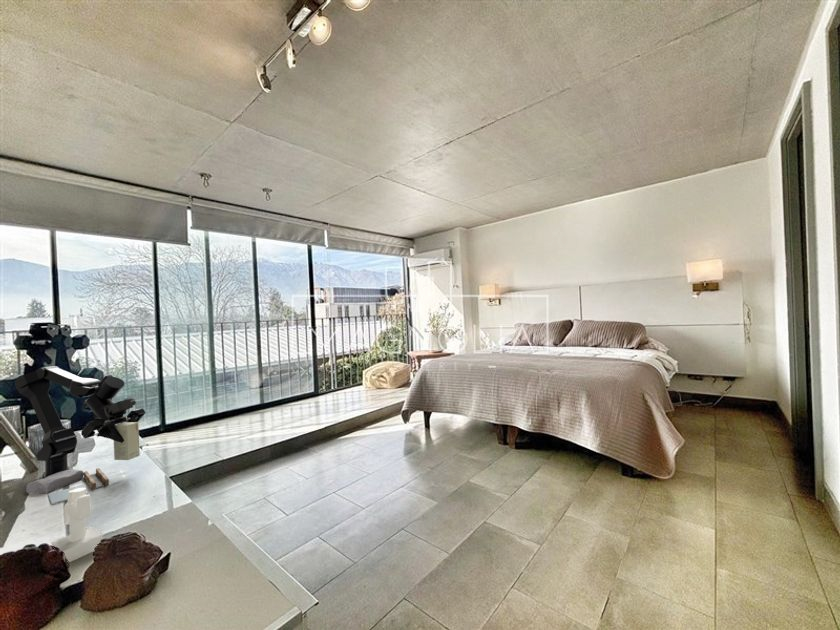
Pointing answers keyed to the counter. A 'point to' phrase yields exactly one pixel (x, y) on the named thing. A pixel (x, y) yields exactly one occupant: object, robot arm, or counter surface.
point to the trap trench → (96, 479)
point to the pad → (62, 495)
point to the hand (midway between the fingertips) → (129, 439)
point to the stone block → (54, 481)
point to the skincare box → (127, 441)
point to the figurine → (78, 526)
